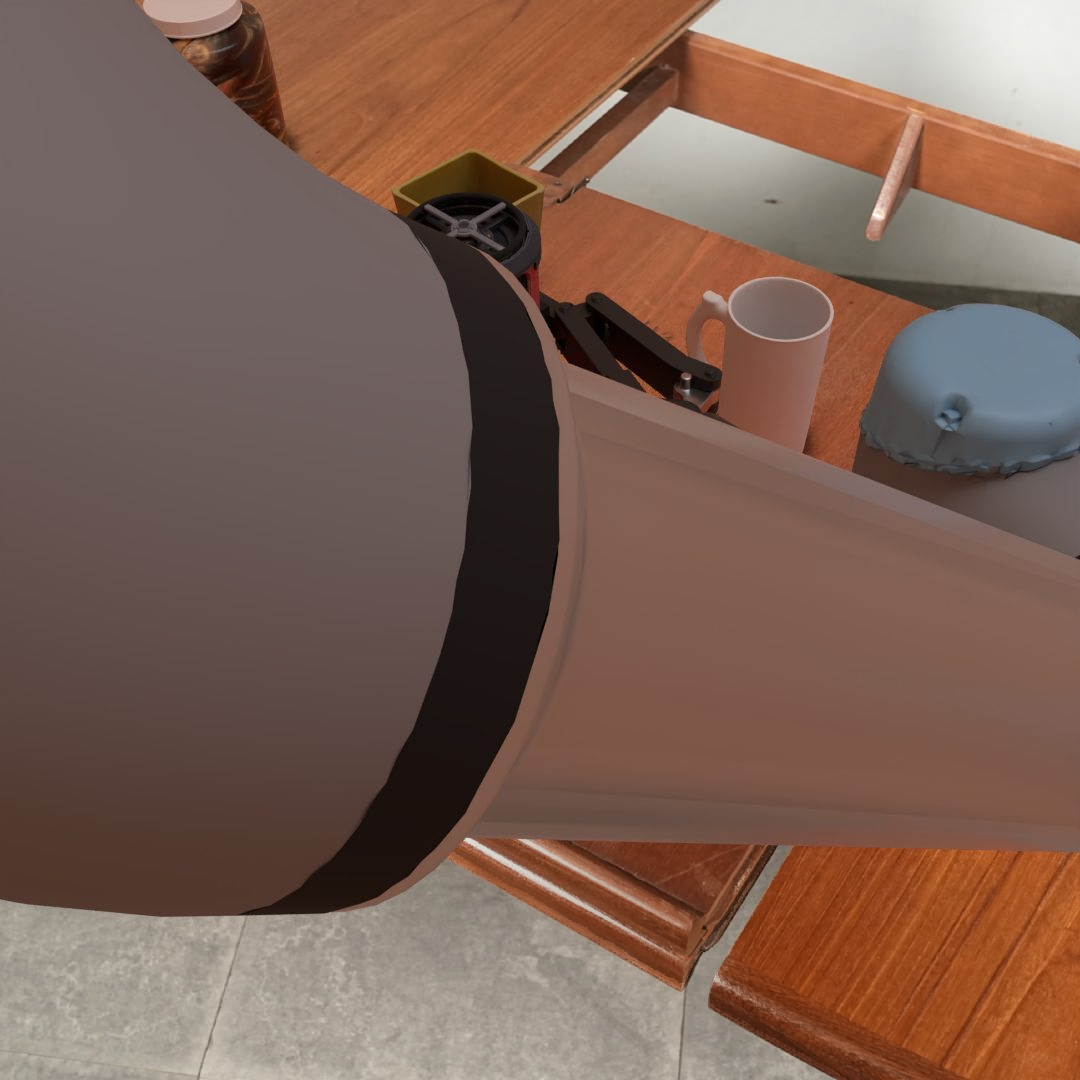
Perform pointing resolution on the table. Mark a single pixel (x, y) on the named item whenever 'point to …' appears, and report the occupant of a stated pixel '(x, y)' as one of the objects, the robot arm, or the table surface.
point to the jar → (226, 52)
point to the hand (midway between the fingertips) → (415, 311)
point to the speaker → (489, 231)
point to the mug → (768, 354)
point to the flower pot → (471, 184)
